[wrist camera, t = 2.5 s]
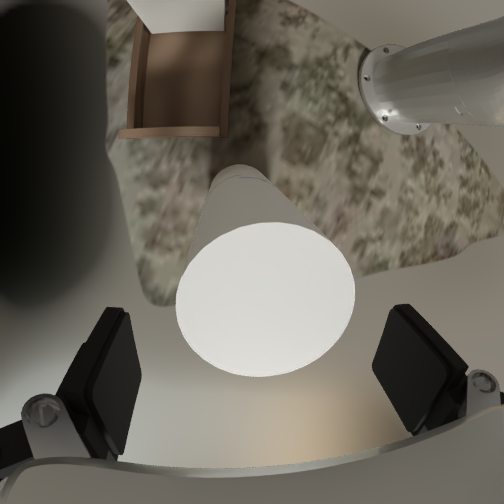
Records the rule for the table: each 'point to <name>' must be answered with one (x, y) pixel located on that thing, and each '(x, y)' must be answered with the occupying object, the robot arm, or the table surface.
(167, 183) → the table surface
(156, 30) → the block
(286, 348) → the cylindrical container
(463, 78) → the robot arm
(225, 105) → the brown wooden tray
